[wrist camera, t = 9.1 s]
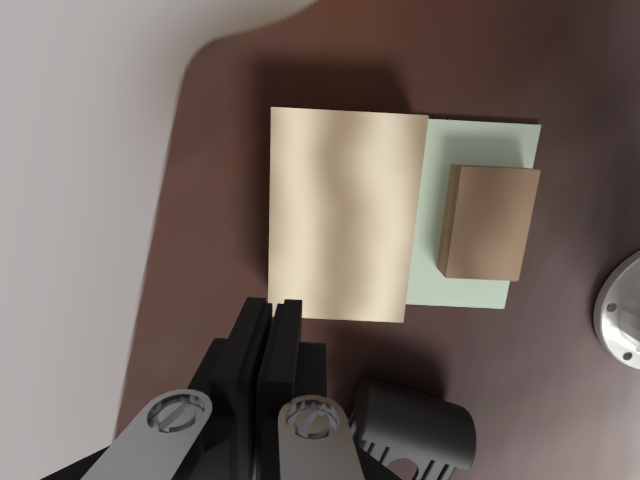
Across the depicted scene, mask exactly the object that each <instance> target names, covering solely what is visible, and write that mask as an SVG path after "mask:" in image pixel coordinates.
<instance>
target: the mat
mask: <svg viewBox="0 0 640 480" xmlns="http://www.w3.org/2000/svg"><path fill="white" fill-rule="evenodd" d="M540 129H541V125H533V124H515V123H496V122H478V121H459V120H441V119H428V126H427V134H426V142H425V151H424V159H423V167H422V175H421V183H420V191H419V199H418V207H417V215H416V223H415V232H414V240H413V248H412V256H411V264H410V272H409V280H408V288H407V296H406V304H416V305H436V306H457V307H478V308H498V309H504V307H505V302H506V297H507V292H508V287H509V282H510V281H502V280H479V279H457V278H445V277H444V276H443V275H442V273H441V272H440V271H439V270H438V269H437V262H438V255H439V247H440V240H441V233H442V226H443V218H444V211H445V204H446V197H447V189H448V182H449V175H450V168H451V164H456V165H478V166H499V167H521V168H530V169H533V164H534V159H535V154H536V149H537V144H538V139H539V134H540Z"/></svg>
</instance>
